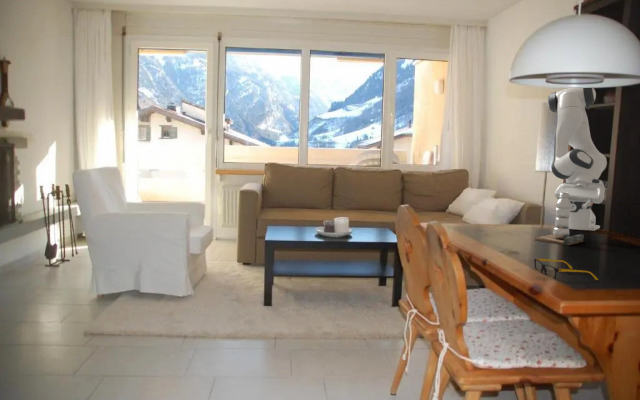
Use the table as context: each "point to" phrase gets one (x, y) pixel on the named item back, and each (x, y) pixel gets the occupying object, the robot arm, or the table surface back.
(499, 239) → the table surface
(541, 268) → the eyeglasses
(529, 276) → the table surface
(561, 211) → the plastic bottle
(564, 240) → the walnut board
